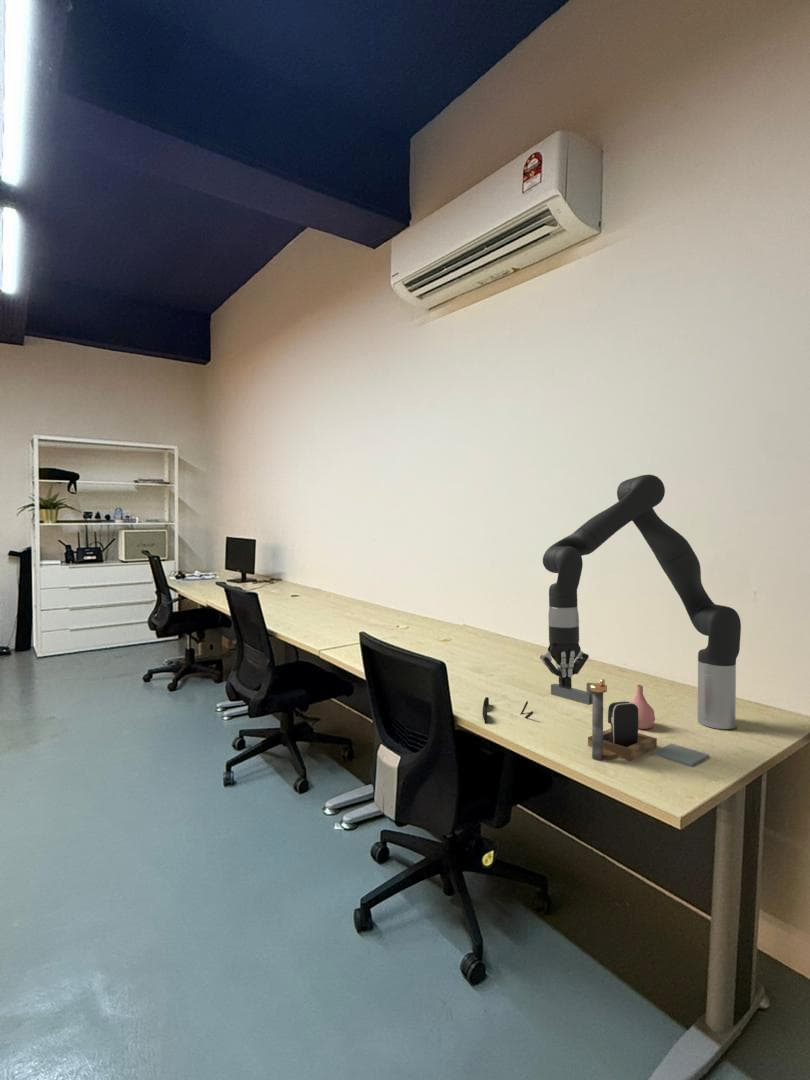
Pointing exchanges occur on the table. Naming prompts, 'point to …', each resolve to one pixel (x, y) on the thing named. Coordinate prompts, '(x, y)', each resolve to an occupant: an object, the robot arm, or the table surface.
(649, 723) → the pink vase
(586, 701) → the bar
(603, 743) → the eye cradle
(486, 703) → the thin black curved strips
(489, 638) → the table surface
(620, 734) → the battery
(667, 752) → the pad
